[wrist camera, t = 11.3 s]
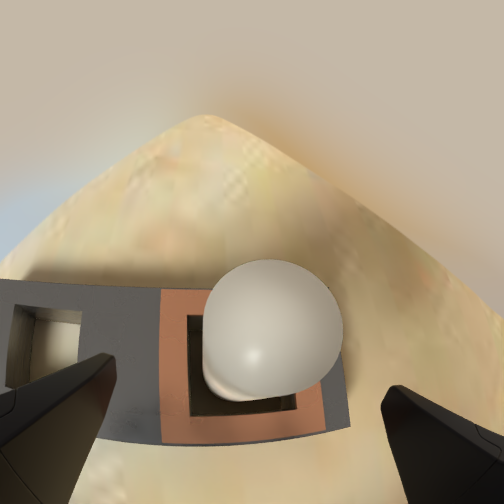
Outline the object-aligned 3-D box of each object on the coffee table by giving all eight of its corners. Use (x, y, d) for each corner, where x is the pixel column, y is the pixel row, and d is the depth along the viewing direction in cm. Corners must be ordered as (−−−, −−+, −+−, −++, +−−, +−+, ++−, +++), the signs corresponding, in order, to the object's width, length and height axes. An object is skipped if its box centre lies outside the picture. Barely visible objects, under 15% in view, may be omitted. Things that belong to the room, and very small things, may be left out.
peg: (255, 409, 16) (329, 409, 6) (194, 390, 16) (181, 368, 6) (272, 352, 18) (350, 282, 9) (214, 334, 18) (229, 242, 9)
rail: (329, 425, 16) (353, 426, 13) (-1, 404, 11) (-28, 398, 8) (312, 304, 20) (330, 285, 17) (11, 294, 16) (-11, 275, 13)
